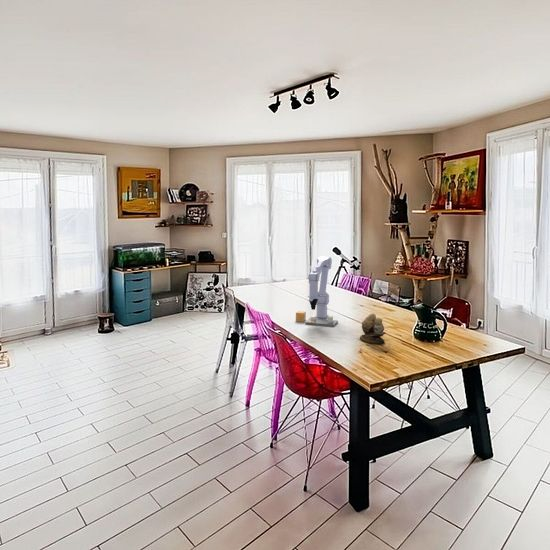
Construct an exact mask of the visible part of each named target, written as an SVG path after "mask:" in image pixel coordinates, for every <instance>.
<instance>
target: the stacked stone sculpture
mask: <svg viewBox="0 0 550 550" xmlns="http://www.w3.org/2000/svg"><path fill="white" fill-rule="evenodd" d="M361 328H362V329H361V330H362V333H364V334H362V335H360V337H359V341H361V342H363V343H367V344H370V345H376V344H377V345H382V344H385V342H386V341H385V340H384V339H383V338H382V337H384V335H385V334H386V332H385V326H384V324H383V319H382V318H380V317H377V314H375V313H369V315H368V316H366V317H365V318H364V320H363V321H362V322H361Z"/></svg>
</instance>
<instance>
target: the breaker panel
mask: <svg viewBox="0 0 550 550" xmlns="http://www.w3.org/2000/svg"><path fill="white" fill-rule="evenodd" d="M304 322H305V325H309V326H320V327H331V328H335V327H336V325H338V322H339V320H335V319H333V323H328V319H326V318H316V321H311V317H309V318H308V319H306V320H305V321H304Z"/></svg>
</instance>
